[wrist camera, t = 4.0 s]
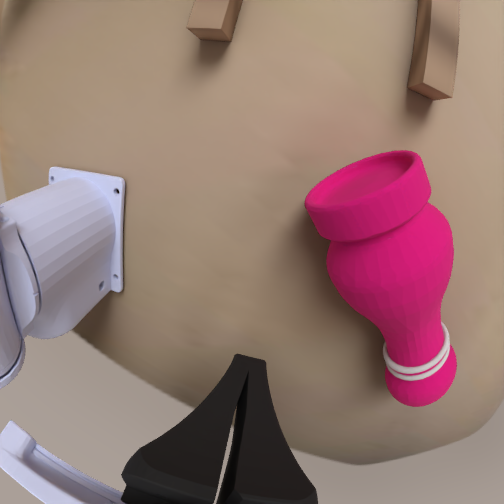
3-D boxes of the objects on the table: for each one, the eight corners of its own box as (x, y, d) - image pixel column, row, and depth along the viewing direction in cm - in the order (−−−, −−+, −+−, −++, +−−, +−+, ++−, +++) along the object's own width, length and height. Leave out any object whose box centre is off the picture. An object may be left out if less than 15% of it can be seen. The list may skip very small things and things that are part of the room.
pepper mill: (347, 157, 17) (415, 353, 23) (268, 216, 14) (372, 410, 21) (447, 137, 10) (475, 373, 17) (385, 212, 8) (433, 442, 15)
